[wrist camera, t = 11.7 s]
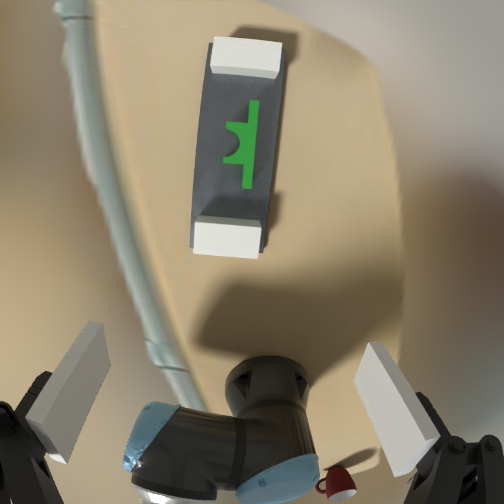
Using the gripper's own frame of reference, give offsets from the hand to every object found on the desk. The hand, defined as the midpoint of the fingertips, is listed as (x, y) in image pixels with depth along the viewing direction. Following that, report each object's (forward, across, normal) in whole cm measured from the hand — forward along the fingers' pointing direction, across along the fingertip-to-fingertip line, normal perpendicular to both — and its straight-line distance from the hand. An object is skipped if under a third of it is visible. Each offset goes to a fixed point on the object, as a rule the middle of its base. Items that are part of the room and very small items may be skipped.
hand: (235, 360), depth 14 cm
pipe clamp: (+28, 0, -10) cm, 30 cm away
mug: (+29, -32, +67) cm, 80 cm away
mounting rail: (+29, +1, -10) cm, 30 cm away
